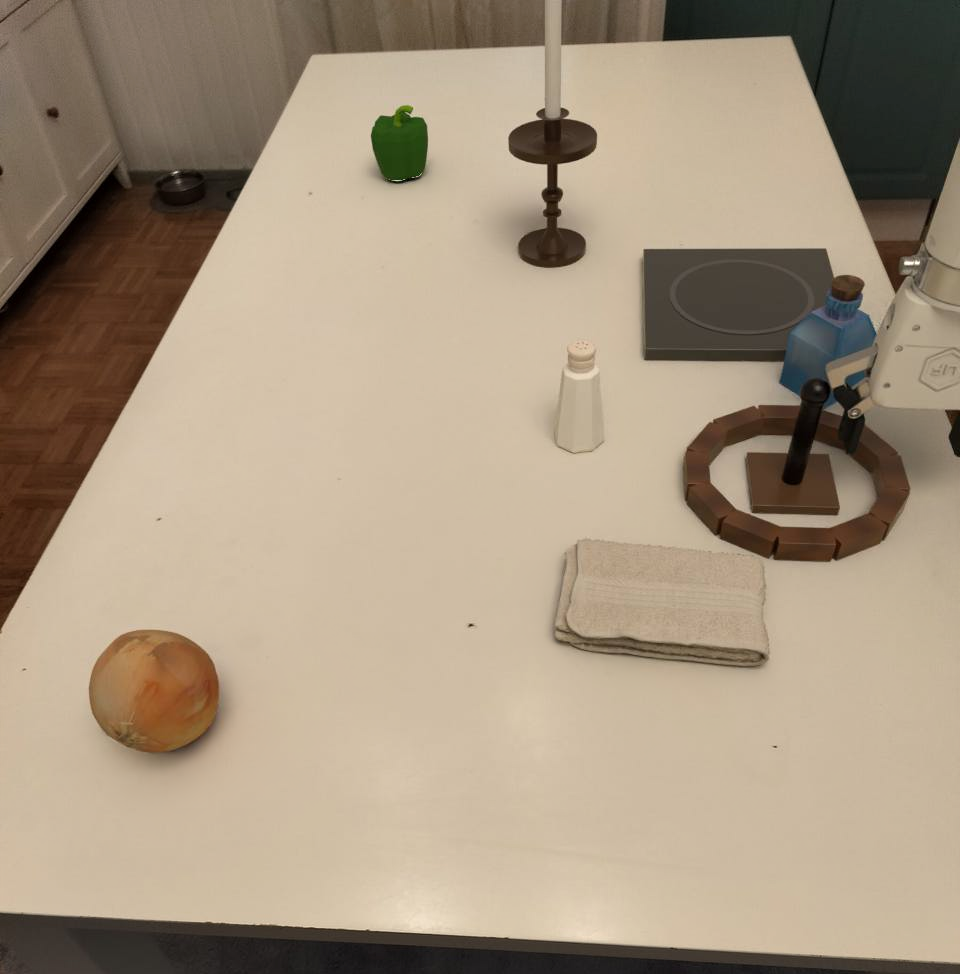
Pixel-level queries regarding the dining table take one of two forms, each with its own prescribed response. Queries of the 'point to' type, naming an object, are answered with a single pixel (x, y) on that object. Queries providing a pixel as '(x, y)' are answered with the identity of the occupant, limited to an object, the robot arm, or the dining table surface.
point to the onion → (154, 690)
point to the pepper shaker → (580, 401)
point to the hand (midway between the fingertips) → (901, 446)
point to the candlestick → (552, 155)
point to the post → (796, 465)
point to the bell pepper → (400, 144)
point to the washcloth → (664, 603)
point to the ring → (793, 539)
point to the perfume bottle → (829, 336)
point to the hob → (729, 301)
